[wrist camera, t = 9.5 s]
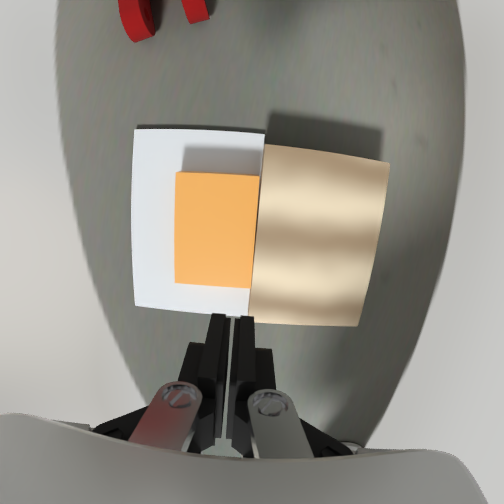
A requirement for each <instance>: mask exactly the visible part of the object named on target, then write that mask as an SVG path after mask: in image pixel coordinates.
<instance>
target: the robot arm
mask: <svg viewBox="0 0 504 504" xmlns="http://www.w3.org/2000/svg"><path fill="white" fill-rule="evenodd" d="M230 322H231V318H226V314H220V313H212V315H211V320H210V324H209V328H208V332H207V337H206V341H205V344H204V343H195V342H190V343H189V345H188V348H187V351H186V355H185V358H184V361H183V365H182V368H181V371H180V375H179V378H178V381H176V382H170V383H167V384H165V385H163V386H162V387H161V388H160V389H159V390H158V392H157V393H156V395H155V396H154V398H153V400H152V401H151V403H150V405H149V406H146V407H144V408H141V409H139V410H136V411H134V412H131V413H129V414H126V415H123V416H121V417H118V418H116V419H113V420H110V421H107V422H105V423H102V424H100V425H98V426H97V427H96V428H90V425H89V424H79V423H71V422H63V421H56V420H50V419H46V418H42V417H38V416H34V415H28V414H21V413H0V504H488V502H487V500H486V499H485V497H484V495H483V493H482V491H481V489H480V487H479V485H478V484H477V482H476V480H475V479H474V477H473V476H472V474H471V473H470V471H469V470H468V469H467V467H466V466H465V465H464V464H463V463H462V462H461V461H460V460H459V459H458V458H457V457H456V456H454V455H452V454H449V453H446V452H442V451H437V450H427V449H405V450H396V449H395V450H394V449H393V450H392V449H368V448H362V447H361V446H360V445H357V444H355V443H350V442H339V441H337V440H336V439H334V438H332V437H330V436H329V435H327V434H325V433H324V432H322V431H320V430H318V429H317V428H315V427H313V426H312V425H310V424H309V423H307V422H305V421H304V420H302V419H300V418H299V417H298V414H297V412H296V409H295V406H294V404H293V401H292V400H291V398H290V397H289V396H288V395H286V394H285V393H283V392H281V391H278V390H276V383H275V373H274V364H273V355H272V349H266V348H255V329H254V316H243V315H241V317H240V319H237V318H235V324H234V336H233V347H232V359H231V370H230V383H229V398H228V413H227V429H226V439H232V446H231V447H233V448H234V449H236V450H237V451H238V452H239V453H241V458H239V457H225V456H214V455H204V454H203V453H204V450H205V449H207V448H209V447H210V446H212V445H214V446H215V438H221V434H222V423H223V412H224V402H225V391H226V381H227V368H228V352H229V337H230Z"/></svg>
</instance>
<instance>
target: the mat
mask: <svg viewBox="0 0 504 504" xmlns="http://www.w3.org/2000/svg"><path fill="white" fill-rule="evenodd" d="M264 136H265V134H256V133H245V132H231V131H215V130H190V129H135V133H134V147H133V165H132V196H131V231H132V263H133V281H134V296H135V306H142V307H150V308H158V309H167V310H176V311H185V312H195V313H205V314H212V313H220V314H226V315H227V316H239V317H241V315H243V316H247V314H248V303H249V293H250V289H249V288H234V287H219V286H206V285H193V284H180V283H175V273H174V210H175V177H176V172H179V171H202V172H223V173H240V174H254V175H259V176H260V178H261V168H262V157H263V147H264ZM259 189H260V179H259ZM258 199H259V192H258ZM257 210H258V205H257ZM256 220H257V217H256ZM255 231H256V230H255Z"/></svg>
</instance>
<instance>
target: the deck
mask: <svg viewBox="0 0 504 504" xmlns="http://www.w3.org/2000/svg"><path fill="white" fill-rule="evenodd" d="M389 168H390V163H386V162H381V161H376V160H371V159H366V158H360V157H355V156H349V155H343V154H337V153H331V152H325V151H318V150H311V149H303V148H296V147H287V146H279V145H269V144H265V145H264V147H263V157H262V168H261V178H260V189H259V199H258V210H257V220H256V231H255V242H254V255H253V268H252V280H251V289H250V293H249V303H248V316H254V322H258V323H274V324H293V325H319V326H358V323H359V319H360V316H361V312H362V308H363V305H364V301H365V297H366V293H367V289H368V284H369V280H370V276H371V272H372V267H373V263H374V258H375V253H376V248H377V243H378V238H379V233H380V227H381V222H382V216H383V210H384V204H385V198H386V191H387V184H388V176H389Z"/></svg>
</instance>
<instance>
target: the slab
mask: <svg viewBox="0 0 504 504" xmlns="http://www.w3.org/2000/svg"><path fill="white" fill-rule="evenodd" d="M259 179H260V176H259V175H254V174H240V173H223V172H202V171H179V172H176V177H175V210H174V273H175V283H180V284H193V285H206V286H219V287H234V288H249V289H251V280H252V268H253V255H254V242H255V230H256V217H257V205H258V192H259Z"/></svg>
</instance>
